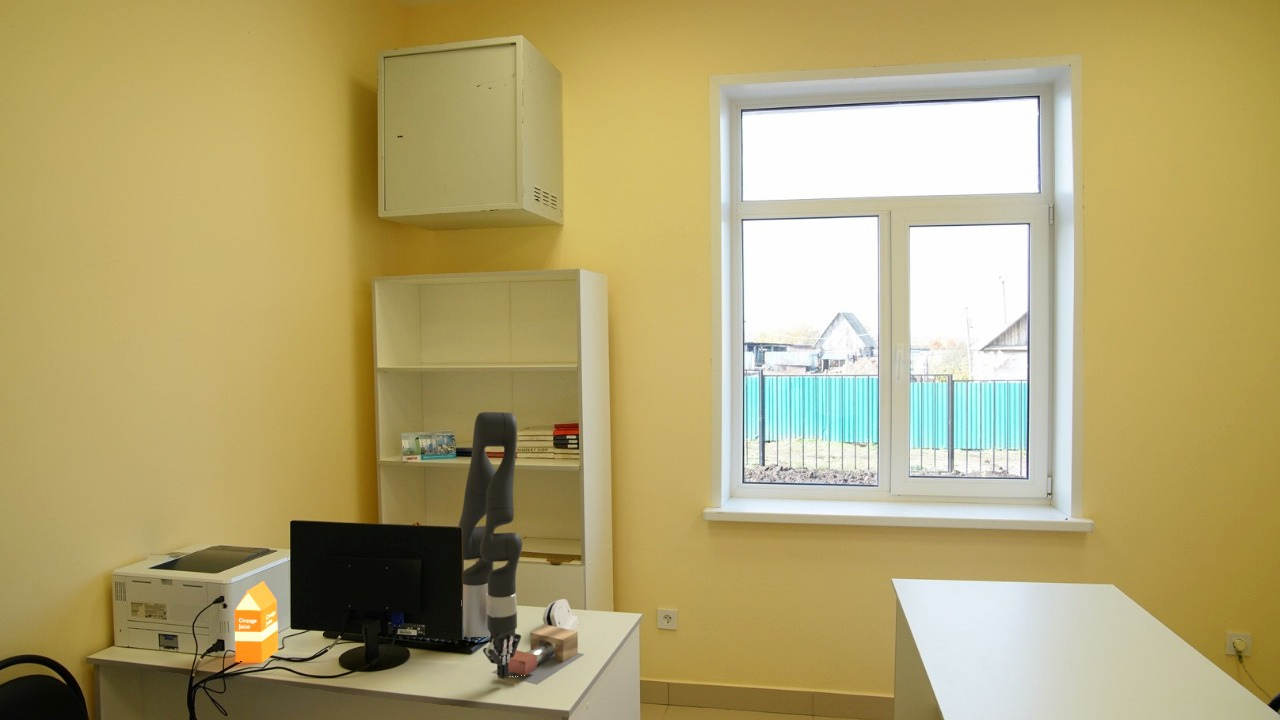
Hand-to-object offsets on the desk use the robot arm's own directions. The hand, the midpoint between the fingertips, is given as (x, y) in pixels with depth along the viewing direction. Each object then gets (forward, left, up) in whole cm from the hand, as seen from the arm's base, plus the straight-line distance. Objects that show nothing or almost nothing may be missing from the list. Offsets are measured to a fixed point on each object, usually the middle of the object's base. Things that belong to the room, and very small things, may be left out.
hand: (502, 677), depth 209 cm
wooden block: (0, +23, -2) cm, 23 cm away
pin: (0, +12, -2) cm, 13 cm away
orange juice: (-73, -18, -2) cm, 75 cm away
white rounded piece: (-9, +38, -3) cm, 39 cm away
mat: (0, +16, -2) cm, 16 cm away
